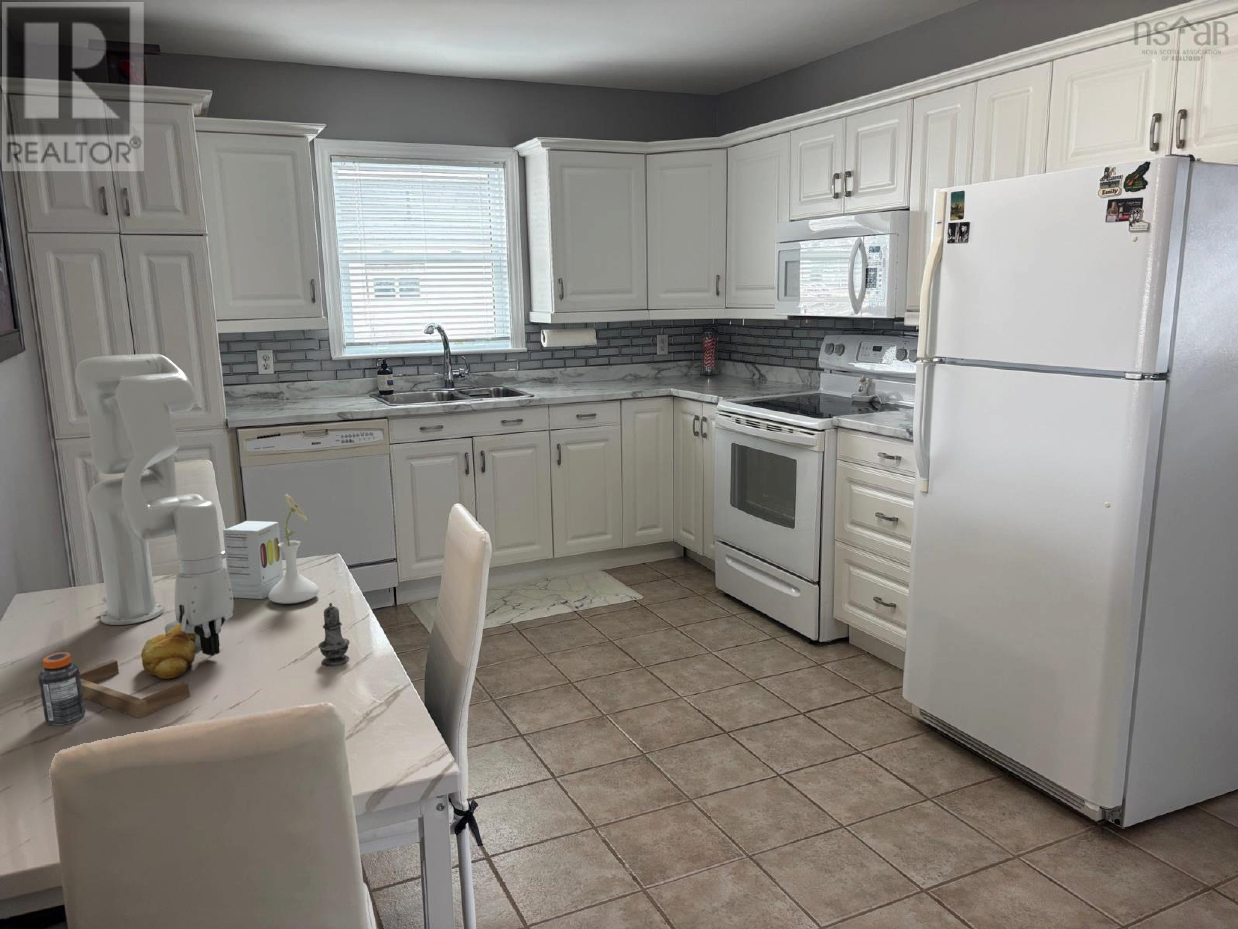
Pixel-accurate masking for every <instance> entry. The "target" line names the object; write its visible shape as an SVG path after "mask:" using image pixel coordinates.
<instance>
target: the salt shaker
mask: <svg viewBox="0 0 1238 929" xmlns="http://www.w3.org/2000/svg"><path fill="white" fill-rule="evenodd" d="M323 620H324V624H323V625H322V628H323V629H324V640H323V641H320V643H318V646H317V647H318V648H319V650H320V653H321V654H322V656H324V658H323V659H322V660H321V665H322V666H325V667H338V666H341V665H342V666H343V665H345V664H347V663H348V662H350V657H349V656H348V655H346V653H347V652H348V650H349V645H350V640H349V639H348V638H345V637H343V635H342V628H341V626H343V623H342V622H341V621H340V620H341V619H340V610H339V608H338V606H337V607H336V606H334V605H333V603H332V602H329V604H328V607H326V608H325V609H324V610H323Z"/></svg>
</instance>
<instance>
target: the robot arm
mask: <svg viewBox="0 0 1238 929" xmlns="http://www.w3.org/2000/svg"><path fill="white" fill-rule="evenodd" d="M74 372H75V373H74V378H75V385H76V388H77V392H78V394H79V396H80V398H81V401H83V404H84V407H85V410H86V413H87V414H86V415H87V419H88V429H89V439H90V442H89V443H90V449H91V450H90V451H91V456H92V463H93V465H94V467H95V469H96V471H97V472H99V473H101V474H103V475H117V474H119V475H120V474H123V477H117V478H111V479H107V480H103V481H100V482H97V483H96V484H95V485H93V486H91V488H90V490H89V491H88V494H87V502H88V506H89V510H90V513H91V516H92V519H93V523H94V525H95V530H96V535H97V539H98V547H99V553H100V561H101V569H102V576H103V584H104V591H105V597H103V598H102V604H103V603H104V604H106V608H107V610H105V611H103V612H102V613H101V615H100V621H101V622H102V623H103V624H105V625H111V626H123V625H124V626H125V625H131V624H138V623H142V622H145V621H146V622H147V621H149V620H151V619H155V618H157V617H159V616H160V615H162V613H163V612H164V611H165V608H164V605H163V604H162V603H161V602H157V601H156V597H155V590H154V588H155V587H154V582H153V572H152V571H153V570H152V564H151V563H152V562H151V556H150V547H149V540H157V539H160V538H161V539H162V538H166V537H170V536H175V539H176V548H177V557H178V564H179V574H176V577H175V583H174V613H175V621H177V622H178V623H182V626H181V632H183V633H196V634H197V635H198V636H200V643H201V648H200V649H201V651H202V652H201V653H202V654H203V655H207V656H211V657H213V656H215V655H217V654H220V652H221V650H220V636H219V634H220V633H221V631H222V626H223V625H224V623H225V622H226V621H228V620H229V619H231V618H232V617H233V616H234V613H233V611H234V597H233V595H232V589H231V584H230V580H229V577H228V574H227V567H226V566H224V565H223V560H224V559H226V554H225V551H222V550H221V540H220V531H219V523H218V512H217V507H216V505H215V504H214V502H213V501H210V500H206V499H205V498H204V497H203V496H202V495H200V494H199V493H198V494H197V493H186V494H181V495H180V494H179V495H178V493H177V491H178V490H177V481H176V480H177V479H176V463H175V452H176V451H178V449H179V447H180V445H181V443H180V440H179V436H178V434H177V431H176V428H175V425H174V422H173V419H172V415H171V414H179V413H180V414H181V413H188V412H190V411H191V410H192V409H193V408H194V407H195V404H196V394H195V393H196V392H195V388H194V386H193V384H192V382H191V380H190V379H189V377H188V376H187V375H186V373H185V372H184V371H183V370H182V369H180V367H178V366H177V364H175V363H174V362H172V360H170V359H169V358H168V357H166V356H164V355H162V354H159V353H140V354H139V353H137V354H116V355H115V354H114V355H102V356H94V357H89V358H85V359H83V360H81V361H80V362H79V363H78V364H77V366H76V368H75V371H74ZM146 470H148V473H144V472H145V471H146Z"/></svg>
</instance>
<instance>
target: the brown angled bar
mask: <svg viewBox="0 0 1238 929" xmlns="http://www.w3.org/2000/svg"><path fill="white" fill-rule="evenodd" d="M79 672H80V678H81V685H82V691H83V697H84V699H86V700H89V701H91V702H94V703H97V704H100V705H101V706H102V705H103V706H105V707H108V708H110V709H114V710H117V711H119V712H122V713H125V714H128V715H131V716H133V717H135V718H139V719H141V718H144V717H145V716H147V715H149V714H153V713H154V712H156V711H159V710H162V709H163V708H166V707H168V706H171V705H173V704H175V703H177V702H179V701H183V700H184V699H187V698H189V697H190V696H191V693H190V684H189V682H186V681H180V682H178V683H177V684H176V683H175V684H174V685H172V686H169V687H166V688H164V689H161V690H159V691H156V692H154V693H152V694H150V695H147V696H145V697H143V698H139V697H137V696H133V695H130V694H127V693H124V692H121V691H118V690H117V689H116V690H115V689H112V688H110V687H106V686H103V685H100V684H97V682H100V681H103V680H104V679H107V678H110V677H113V676H115V675H118V674H120V671H119V663H118V660H115V659H110V660H108V661H105V662H102V663H100V664H97V665H96V664H95V665H94V666H91V667H88V668H85V669H82V670H81V671H80V670H79Z"/></svg>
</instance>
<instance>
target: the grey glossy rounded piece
mask: <svg viewBox="0 0 1238 929" xmlns="http://www.w3.org/2000/svg"><path fill="white" fill-rule="evenodd" d="M177 624H179V623H178V622H177V621H176V620H174V621H172V622H170V623H168V624H166V625H165V626H164V633H165V634H164V635H166V633H167V632H168V631H169V630H170V629H171V628H173V627H174V626H175V625H177ZM200 649H201V643H200V636H198V635H197V634H196V639H195V651H196V650H200Z"/></svg>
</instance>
